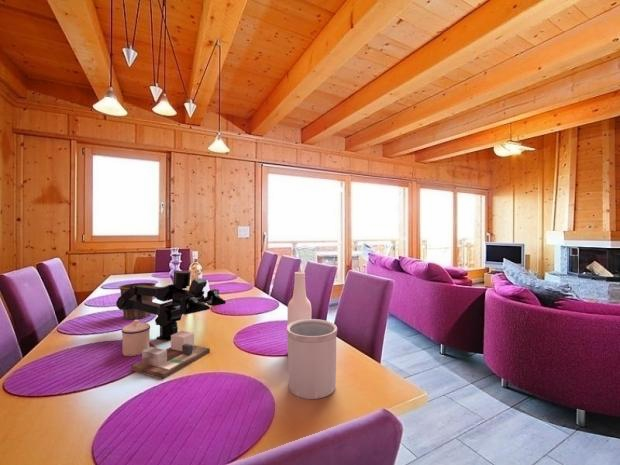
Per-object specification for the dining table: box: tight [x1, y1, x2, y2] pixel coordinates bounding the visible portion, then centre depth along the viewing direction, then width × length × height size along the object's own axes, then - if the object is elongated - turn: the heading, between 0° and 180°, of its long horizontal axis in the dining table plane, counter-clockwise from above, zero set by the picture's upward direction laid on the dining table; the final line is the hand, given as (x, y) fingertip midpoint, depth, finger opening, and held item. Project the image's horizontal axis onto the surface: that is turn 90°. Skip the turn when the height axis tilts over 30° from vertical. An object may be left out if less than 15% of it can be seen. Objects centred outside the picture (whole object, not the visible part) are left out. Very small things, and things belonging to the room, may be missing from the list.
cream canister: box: [121, 319, 151, 357], centre depth 108 cm, size 12×9×12 cm
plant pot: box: [118, 282, 156, 320], centre depth 150 cm, size 16×16×16 cm
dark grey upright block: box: [182, 344, 192, 355], centre depth 102 cm, size 3×1×3 cm, turn 69°
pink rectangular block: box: [170, 330, 196, 351], centre depth 106 cm, size 10×5×5 cm, turn 69°
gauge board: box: [130, 345, 211, 380], centre depth 100 cm, size 14×20×6 cm
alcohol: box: [286, 271, 312, 353], centre depth 107 cm, size 9×9×30 cm
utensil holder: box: [286, 318, 338, 400], centre depth 85 cm, size 15×15×18 cm
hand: (217, 305), depth 112 cm, fingers open, 9 cm apart
